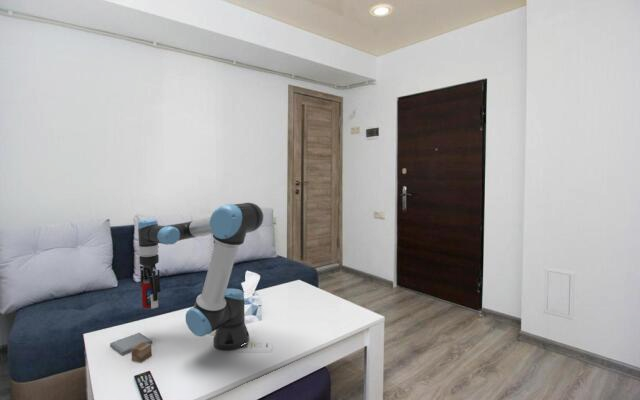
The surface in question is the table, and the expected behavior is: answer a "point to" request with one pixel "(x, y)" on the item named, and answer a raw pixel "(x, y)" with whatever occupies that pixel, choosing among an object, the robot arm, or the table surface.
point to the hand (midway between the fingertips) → (150, 305)
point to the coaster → (129, 343)
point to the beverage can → (147, 294)
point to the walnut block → (141, 352)
